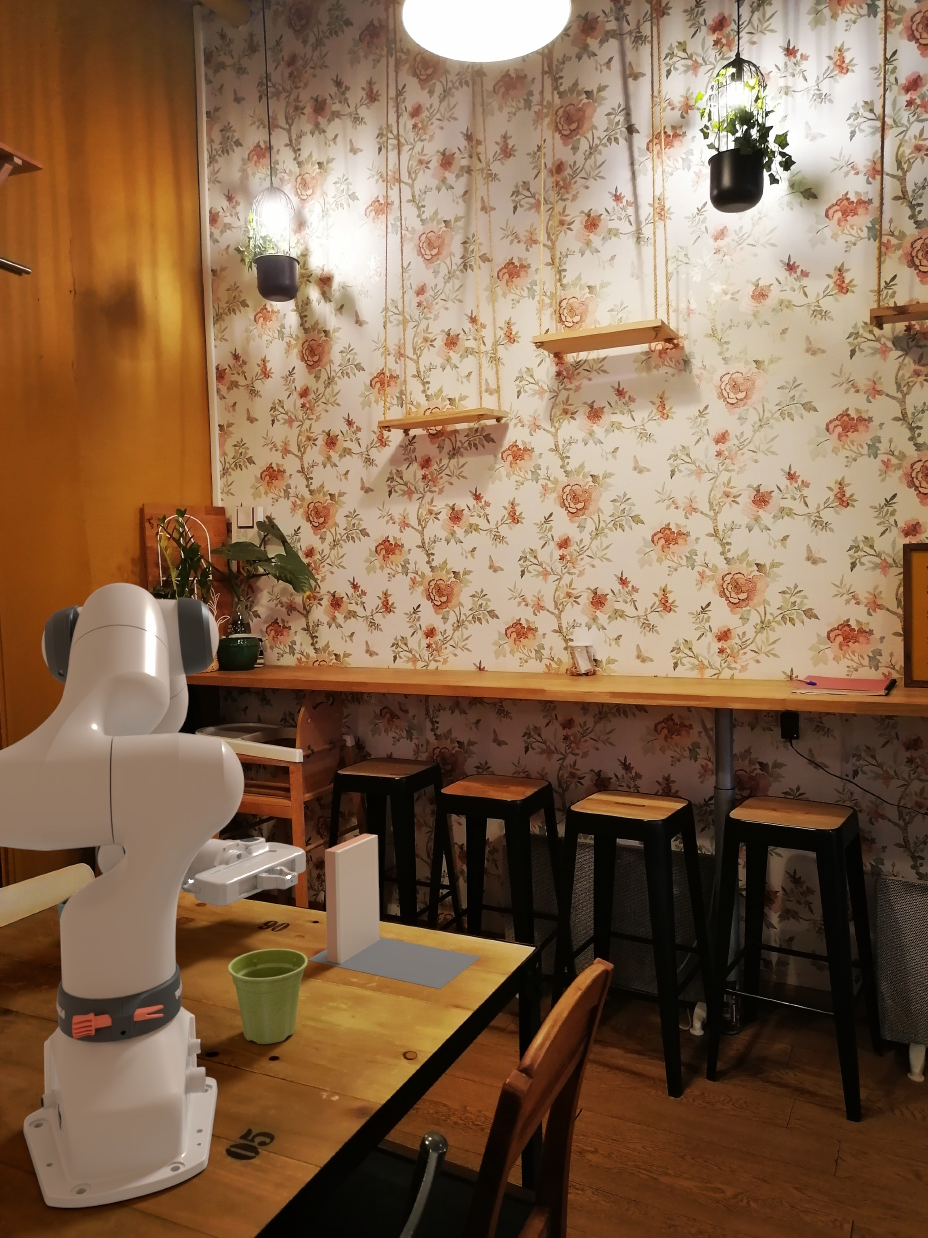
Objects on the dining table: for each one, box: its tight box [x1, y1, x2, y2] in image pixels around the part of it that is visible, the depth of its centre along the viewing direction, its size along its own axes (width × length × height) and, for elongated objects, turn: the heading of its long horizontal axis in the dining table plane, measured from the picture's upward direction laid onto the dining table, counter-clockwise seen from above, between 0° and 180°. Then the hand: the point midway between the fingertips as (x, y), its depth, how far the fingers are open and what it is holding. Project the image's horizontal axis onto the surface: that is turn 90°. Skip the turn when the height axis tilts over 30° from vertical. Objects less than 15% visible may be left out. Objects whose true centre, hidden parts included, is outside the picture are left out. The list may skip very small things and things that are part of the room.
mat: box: [307, 936, 482, 990], centre depth 134 cm, size 22×12×1 cm, turn 62°
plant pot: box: [227, 948, 309, 1045], centre depth 113 cm, size 9×9×9 cm
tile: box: [324, 833, 381, 964], centre depth 137 cm, size 2×10×16 cm, turn 152°
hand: (292, 881), depth 143 cm, fingers closed
